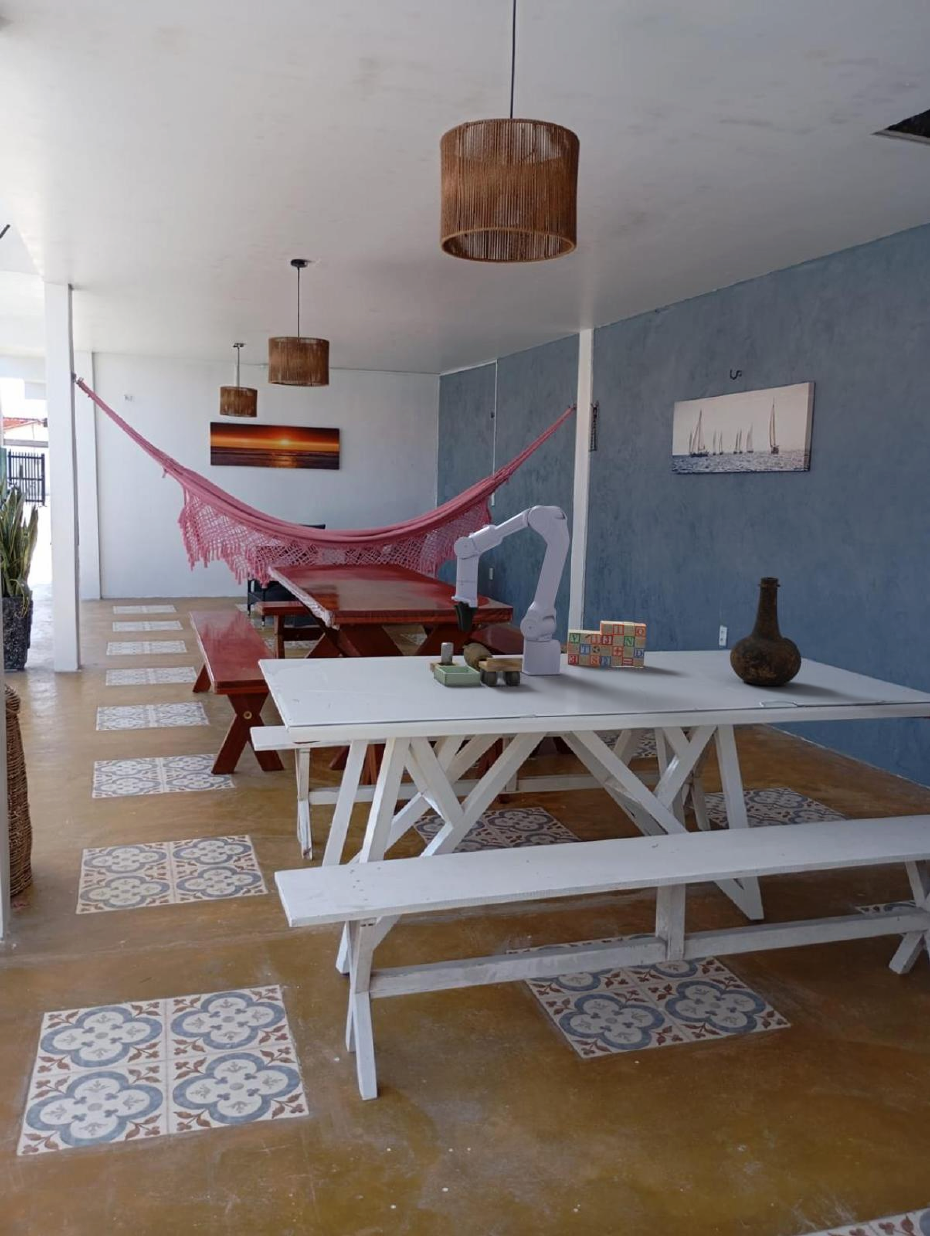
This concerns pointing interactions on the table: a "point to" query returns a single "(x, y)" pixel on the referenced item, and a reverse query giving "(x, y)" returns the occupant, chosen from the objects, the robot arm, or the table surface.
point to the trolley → (506, 665)
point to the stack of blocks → (608, 645)
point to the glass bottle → (766, 645)
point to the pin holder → (440, 665)
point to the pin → (446, 654)
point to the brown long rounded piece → (476, 655)
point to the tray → (457, 675)
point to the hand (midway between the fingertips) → (464, 630)
